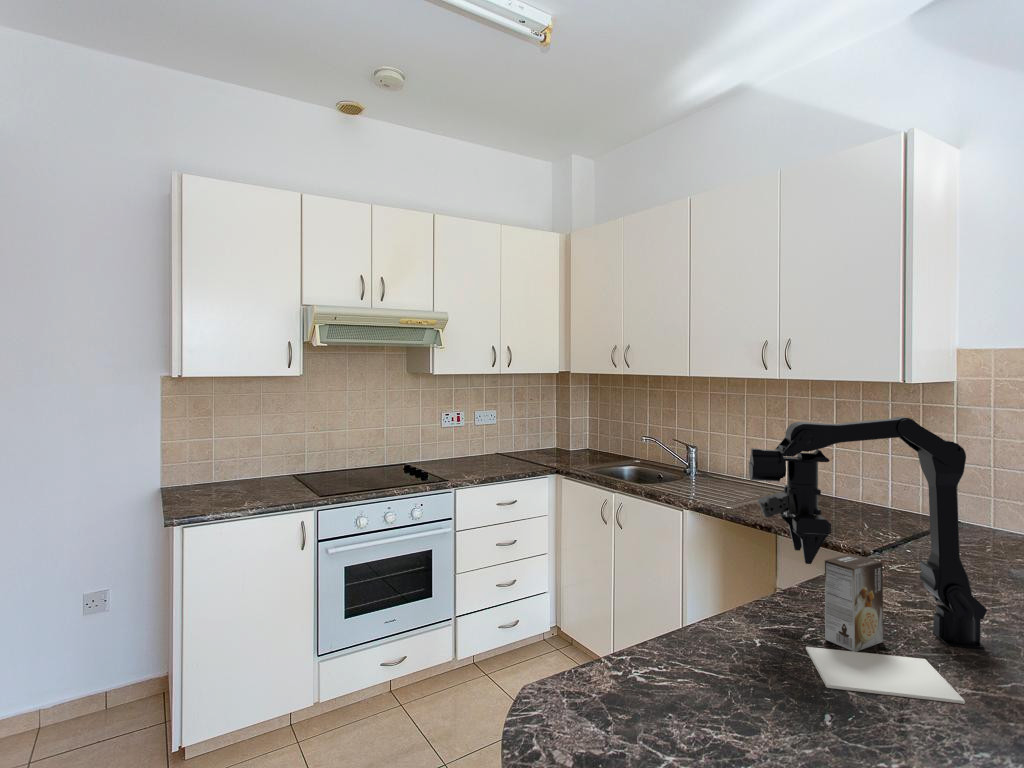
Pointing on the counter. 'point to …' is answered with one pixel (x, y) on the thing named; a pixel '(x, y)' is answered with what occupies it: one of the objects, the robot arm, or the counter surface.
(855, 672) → the mat
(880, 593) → the coffee box
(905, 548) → the counter surface
